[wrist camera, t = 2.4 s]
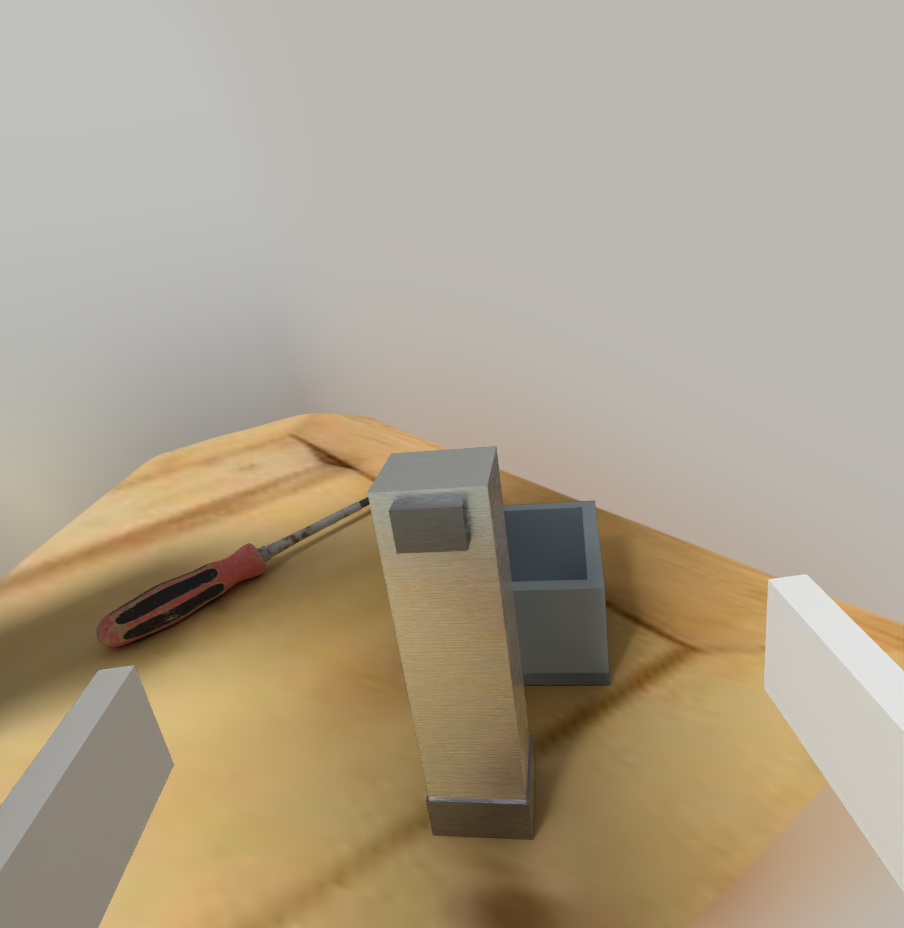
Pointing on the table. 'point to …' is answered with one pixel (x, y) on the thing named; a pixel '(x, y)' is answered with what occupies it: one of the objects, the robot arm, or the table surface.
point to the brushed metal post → (458, 637)
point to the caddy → (558, 592)
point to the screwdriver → (198, 587)
